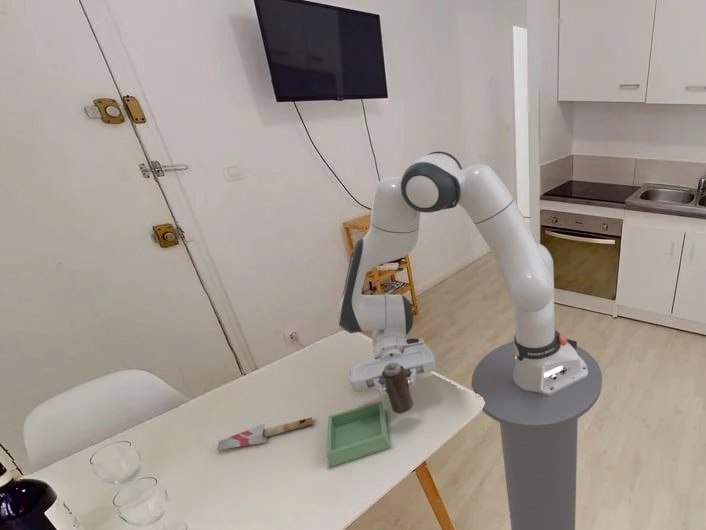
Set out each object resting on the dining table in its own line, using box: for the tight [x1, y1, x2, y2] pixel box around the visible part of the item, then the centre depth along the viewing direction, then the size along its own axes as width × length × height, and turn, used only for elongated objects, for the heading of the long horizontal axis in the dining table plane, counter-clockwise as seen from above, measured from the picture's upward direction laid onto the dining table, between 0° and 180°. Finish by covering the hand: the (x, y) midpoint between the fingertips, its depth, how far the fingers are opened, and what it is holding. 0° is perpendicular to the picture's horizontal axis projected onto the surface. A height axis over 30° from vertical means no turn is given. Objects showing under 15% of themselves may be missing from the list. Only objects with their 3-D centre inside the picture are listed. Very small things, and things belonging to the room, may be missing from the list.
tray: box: [326, 400, 390, 467], centre depth 99 cm, size 13×13×4 cm
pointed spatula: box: [216, 416, 314, 451], centre depth 100 cm, size 4×3×20 cm
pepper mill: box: [382, 363, 414, 414], centre depth 97 cm, size 5×5×13 cm
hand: (397, 388), depth 97 cm, fingers closed on pepper mill, 5 cm apart
